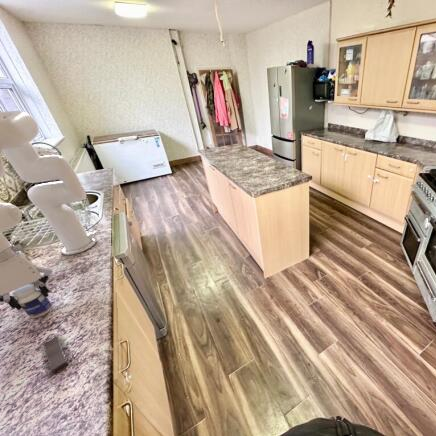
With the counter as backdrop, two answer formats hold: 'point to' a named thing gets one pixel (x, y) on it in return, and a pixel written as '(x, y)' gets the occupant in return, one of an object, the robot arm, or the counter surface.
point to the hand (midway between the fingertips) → (33, 300)
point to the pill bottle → (32, 301)
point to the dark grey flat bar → (55, 354)
